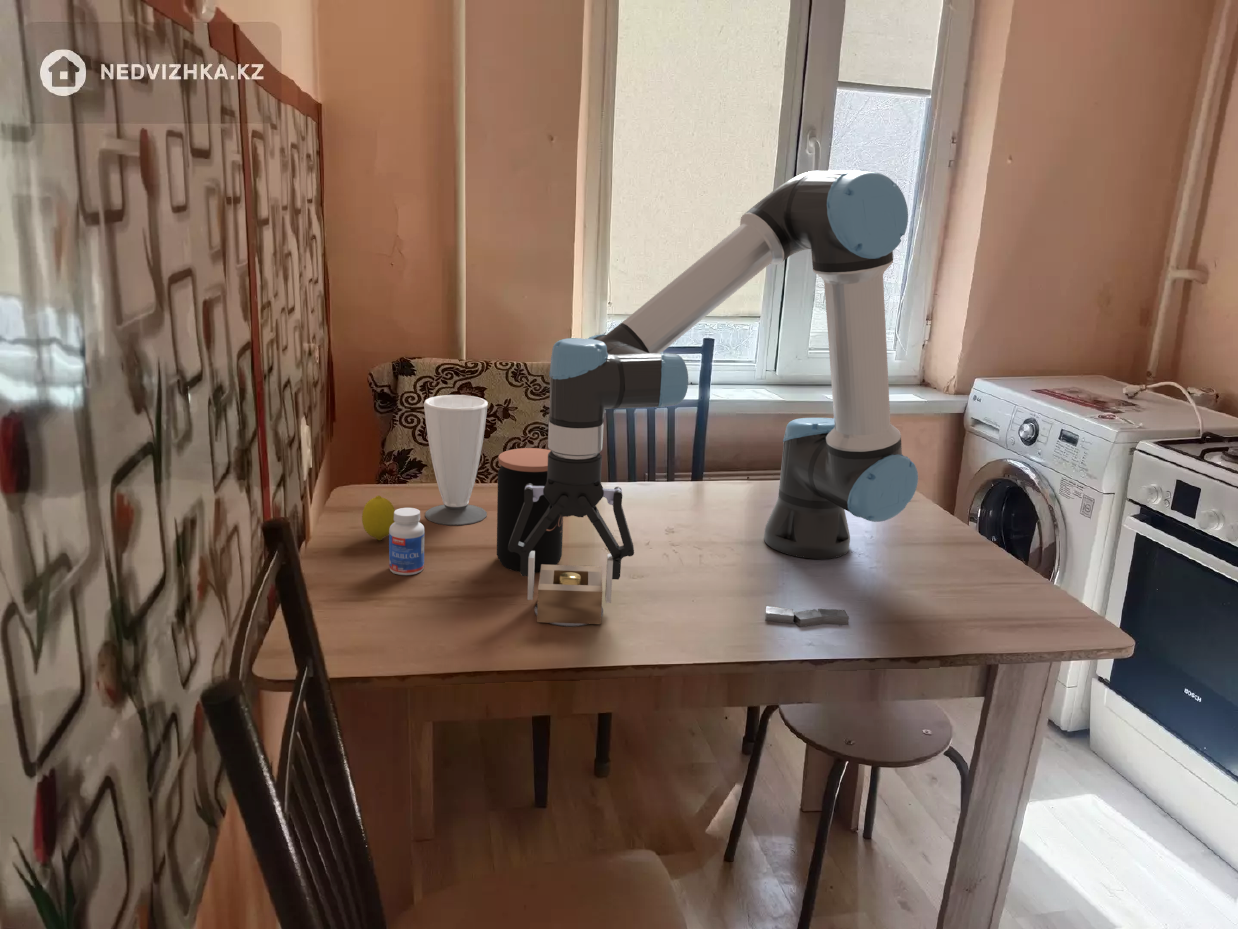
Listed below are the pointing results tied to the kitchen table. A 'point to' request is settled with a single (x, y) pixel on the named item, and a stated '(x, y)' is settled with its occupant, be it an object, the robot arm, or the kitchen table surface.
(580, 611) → the square wooden ring block
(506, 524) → the coffee jar
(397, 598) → the kitchen table surface
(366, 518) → the lemon
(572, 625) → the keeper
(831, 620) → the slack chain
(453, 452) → the cup
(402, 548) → the pill bottle
